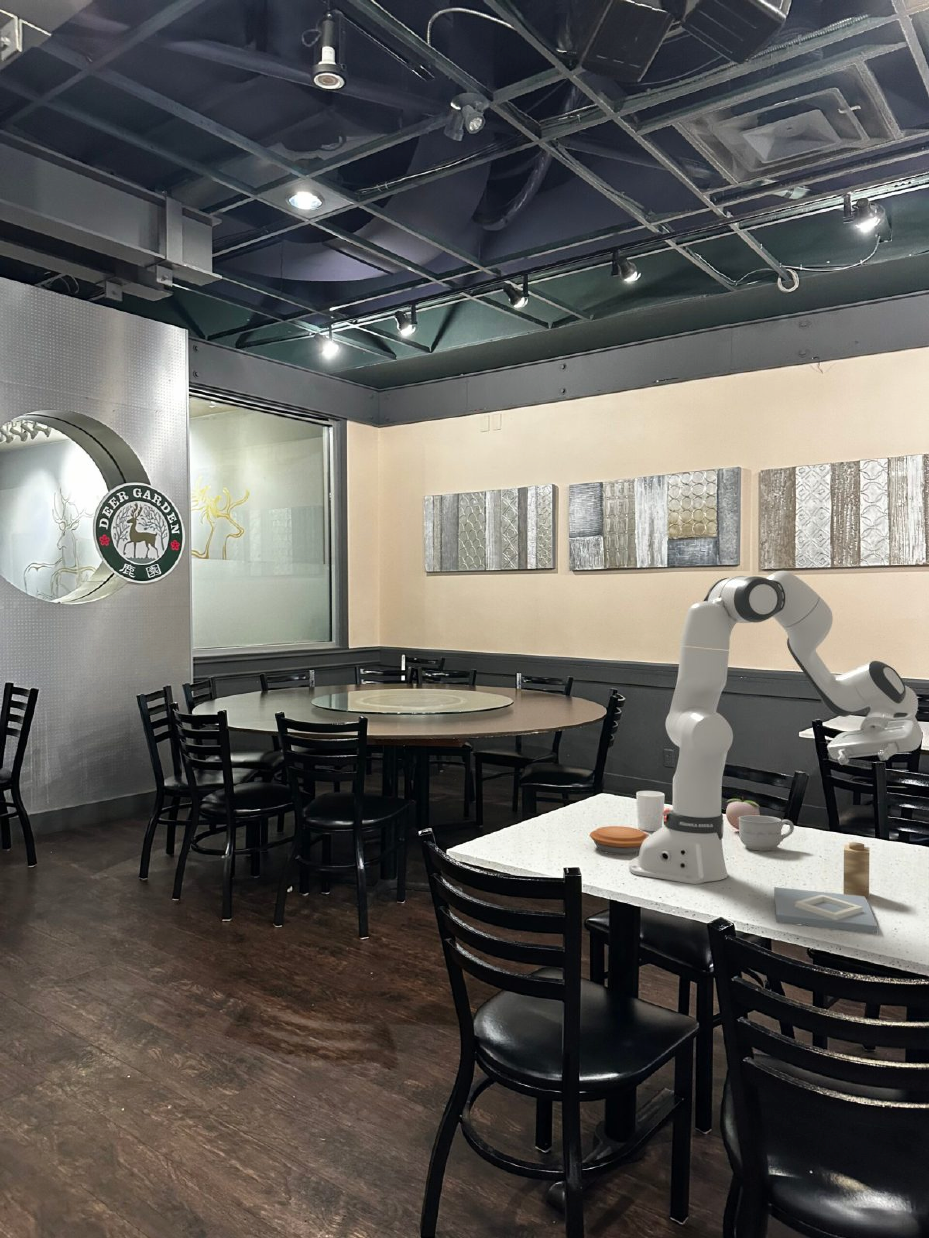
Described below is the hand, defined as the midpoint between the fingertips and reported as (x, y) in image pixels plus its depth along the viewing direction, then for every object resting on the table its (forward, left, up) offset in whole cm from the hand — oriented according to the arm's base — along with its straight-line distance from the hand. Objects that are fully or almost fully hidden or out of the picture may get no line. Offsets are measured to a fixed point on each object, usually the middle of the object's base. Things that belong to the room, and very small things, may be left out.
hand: (861, 759), depth 192 cm
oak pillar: (-2, -8, -28) cm, 29 cm away
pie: (-56, +11, -29) cm, 64 cm away
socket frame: (-9, -25, -27) cm, 38 cm away
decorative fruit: (-26, +41, -28) cm, 56 cm away
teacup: (-20, +25, -29) cm, 43 cm away
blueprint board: (-10, -23, -28) cm, 38 cm away
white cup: (-51, +36, -28) cm, 68 cm away
